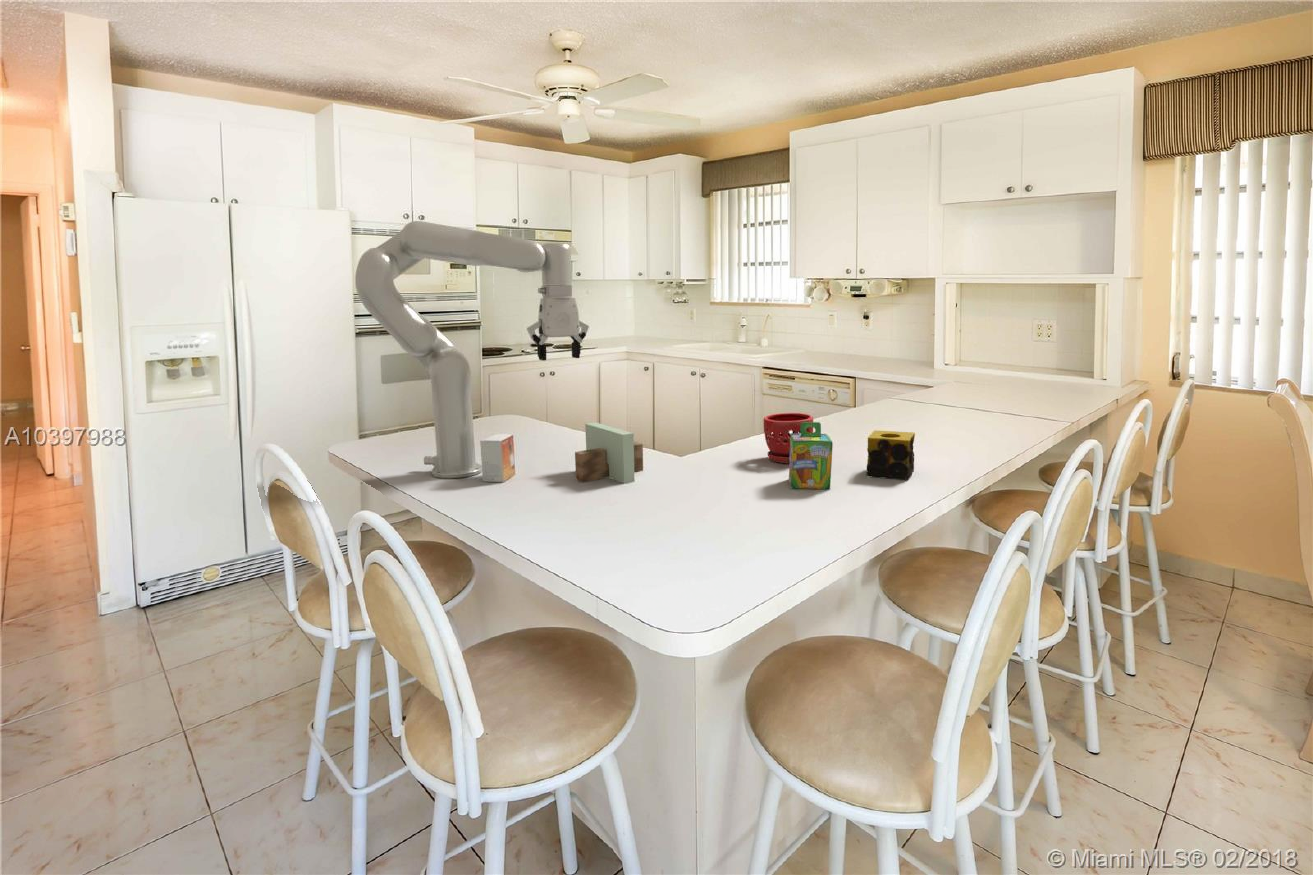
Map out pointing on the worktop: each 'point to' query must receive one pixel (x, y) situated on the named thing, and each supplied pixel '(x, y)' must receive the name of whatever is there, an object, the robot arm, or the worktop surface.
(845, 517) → the worktop surface
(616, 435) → the green board
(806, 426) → the chalk box
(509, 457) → the small box
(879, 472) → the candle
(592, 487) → the worktop surface
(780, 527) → the worktop surface
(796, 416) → the plant pot
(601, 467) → the walnut board
